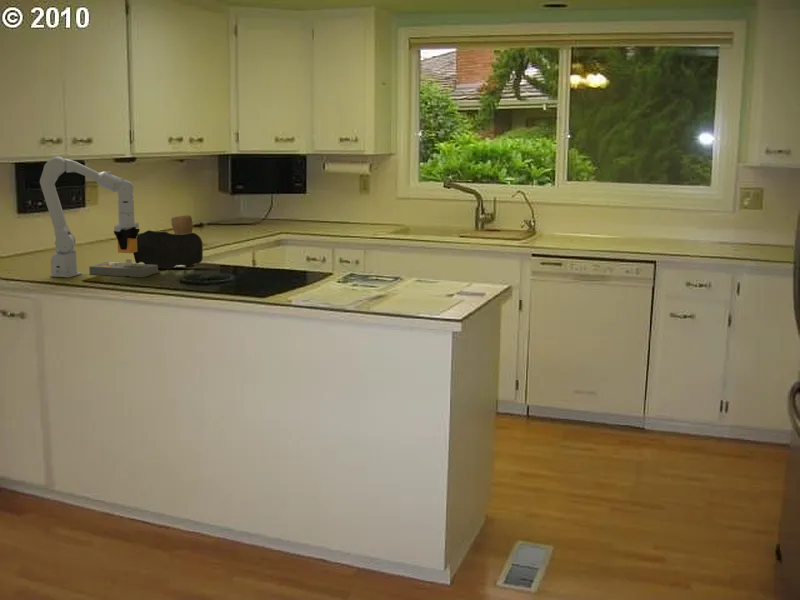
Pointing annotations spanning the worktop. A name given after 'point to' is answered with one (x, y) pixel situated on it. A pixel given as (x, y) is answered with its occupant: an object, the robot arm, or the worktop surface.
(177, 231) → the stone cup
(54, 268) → the robot arm
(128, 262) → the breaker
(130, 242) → the orange cube
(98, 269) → the board
